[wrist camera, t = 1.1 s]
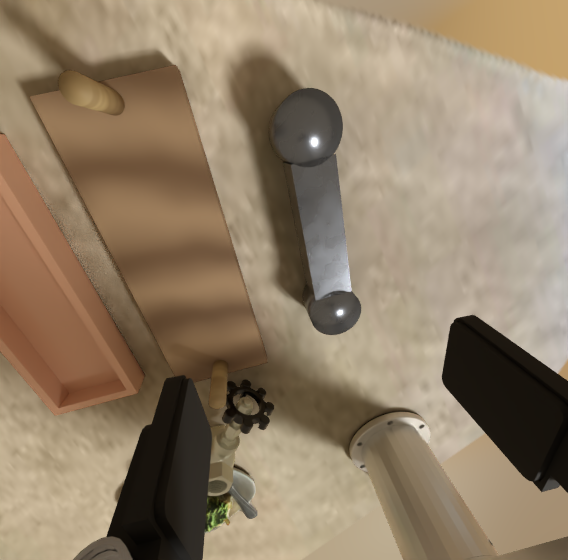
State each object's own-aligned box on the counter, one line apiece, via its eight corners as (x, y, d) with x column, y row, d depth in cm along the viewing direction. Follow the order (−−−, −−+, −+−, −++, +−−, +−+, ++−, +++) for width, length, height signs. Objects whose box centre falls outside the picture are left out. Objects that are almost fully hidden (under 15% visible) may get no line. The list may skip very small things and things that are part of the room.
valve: (237, 447, 39) (271, 385, 35) (237, 500, 33) (278, 432, 29) (190, 440, 37) (220, 373, 33) (180, 495, 31) (216, 421, 27)
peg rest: (266, 353, 33) (272, 398, 27) (182, 376, 32) (170, 426, 27) (179, 70, 21) (156, 39, 15) (43, 100, 20) (-36, 79, 14)
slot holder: (145, 375, 32) (137, 393, 29) (68, 395, 31) (55, 415, 29) (4, 134, 21) (-25, 132, 18) (-115, 161, 20) (-161, 162, 18)
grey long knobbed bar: (348, 307, 32) (363, 327, 28) (306, 318, 32) (315, 340, 28) (322, 91, 23) (338, 80, 19) (262, 105, 22) (267, 96, 19)
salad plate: (289, 476, 44) (294, 509, 40) (217, 533, 48) (215, 569, 44) (184, 430, 37) (177, 466, 32) (109, 502, 40) (94, 543, 36)
